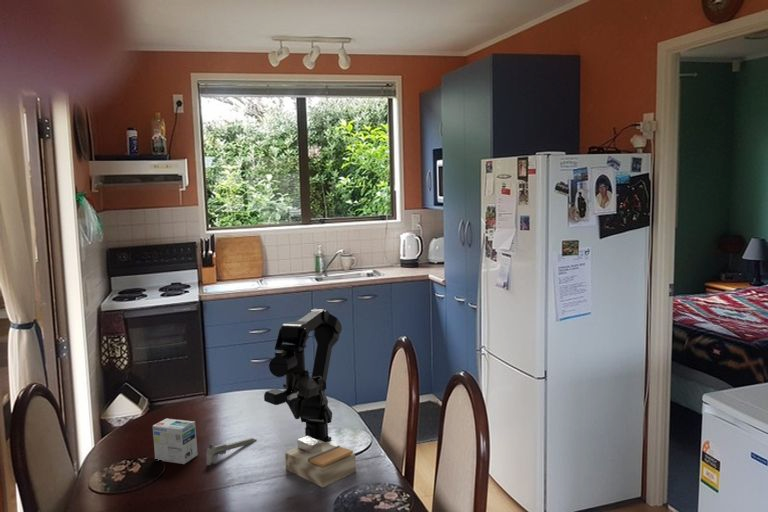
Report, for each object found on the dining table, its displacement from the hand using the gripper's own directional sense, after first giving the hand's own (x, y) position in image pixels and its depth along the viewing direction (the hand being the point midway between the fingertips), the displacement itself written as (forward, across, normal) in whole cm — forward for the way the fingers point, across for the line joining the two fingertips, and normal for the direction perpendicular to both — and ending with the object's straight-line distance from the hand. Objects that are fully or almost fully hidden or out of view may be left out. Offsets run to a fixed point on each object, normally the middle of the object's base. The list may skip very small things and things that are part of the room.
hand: (297, 418), depth 183 cm
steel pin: (+12, -1, -6) cm, 13 cm away
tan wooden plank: (+7, -1, -16) cm, 17 cm away
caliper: (+12, -11, +18) cm, 25 cm away
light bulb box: (+12, -24, +28) cm, 39 cm away
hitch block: (+12, -1, -11) cm, 16 cm away
